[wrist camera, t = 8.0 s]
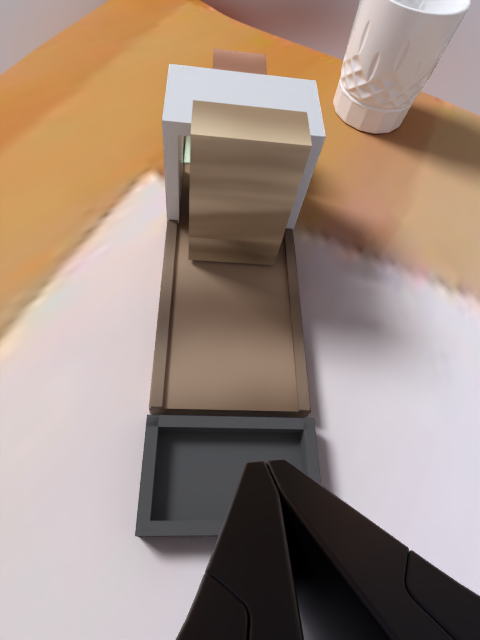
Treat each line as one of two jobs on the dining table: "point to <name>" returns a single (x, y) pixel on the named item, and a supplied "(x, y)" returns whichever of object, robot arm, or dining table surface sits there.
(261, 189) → the wood grain block
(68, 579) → the dining table surface
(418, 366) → the dining table surface
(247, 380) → the track
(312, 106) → the tunnel
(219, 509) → the tray
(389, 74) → the white cup
